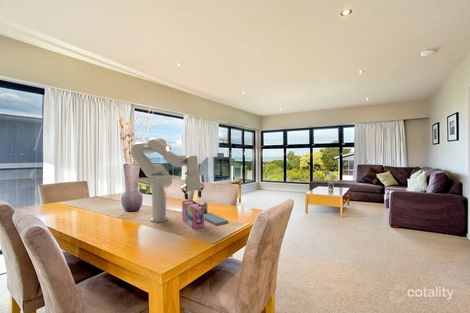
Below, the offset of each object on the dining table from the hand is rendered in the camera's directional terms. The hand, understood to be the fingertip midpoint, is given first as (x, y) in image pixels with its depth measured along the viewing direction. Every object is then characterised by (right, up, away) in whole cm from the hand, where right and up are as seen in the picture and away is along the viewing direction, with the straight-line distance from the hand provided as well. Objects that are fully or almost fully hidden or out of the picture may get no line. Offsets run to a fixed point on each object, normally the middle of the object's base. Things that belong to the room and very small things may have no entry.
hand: (193, 198), depth 157 cm
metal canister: (+4, -16, +25) cm, 30 cm away
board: (+13, -17, +8) cm, 23 cm away
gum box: (0, -18, +1) cm, 18 cm away
